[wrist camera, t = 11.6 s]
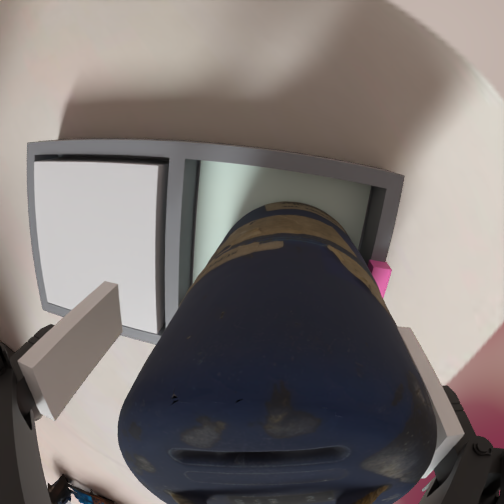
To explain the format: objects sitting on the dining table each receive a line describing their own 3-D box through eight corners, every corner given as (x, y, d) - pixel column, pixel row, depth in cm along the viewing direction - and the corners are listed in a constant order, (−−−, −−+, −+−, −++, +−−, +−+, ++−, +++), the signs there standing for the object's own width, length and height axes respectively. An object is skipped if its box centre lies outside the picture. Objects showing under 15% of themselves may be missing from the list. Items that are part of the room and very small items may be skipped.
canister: (224, 191, 21) (20, 369, 4) (364, 204, 20) (538, 412, 3) (221, 313, 24) (133, 533, 7) (341, 325, 23) (374, 557, 6)
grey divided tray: (66, 291, 27) (35, 315, 22) (57, 139, 22) (17, 144, 17) (342, 346, 25) (349, 387, 20) (386, 170, 20) (413, 178, 15)
